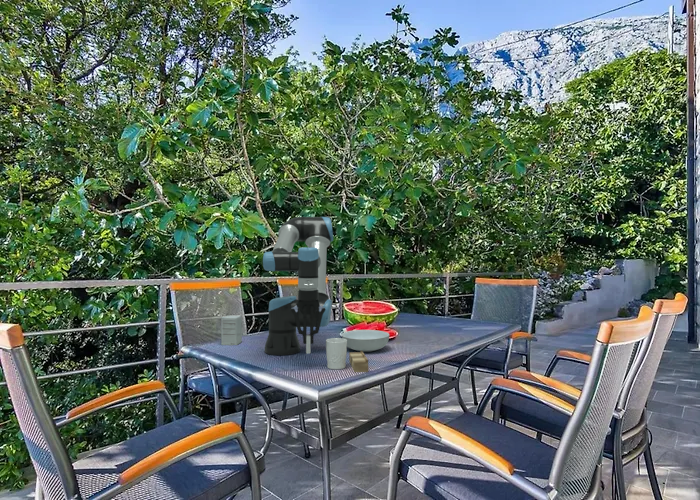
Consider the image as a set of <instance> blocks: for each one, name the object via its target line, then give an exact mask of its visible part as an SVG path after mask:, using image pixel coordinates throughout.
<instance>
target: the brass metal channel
mask: <svg viewBox="0 0 700 500" xmlns="http://www.w3.org/2000/svg"><path fill="white" fill-rule="evenodd" d="M348 353H349V355H348V356H349V357H348V358H349V359H348V361H349V364H350V367H351V368H352V370H353V372H354V373H368V372H369V359H368V357H367V356H366V355H365V352H363V351H357V352H356V351H354V352H353V351H351V352H348Z"/></svg>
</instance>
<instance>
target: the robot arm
mask: <svg viewBox="0 0 700 500" xmlns="http://www.w3.org/2000/svg"><path fill="white" fill-rule="evenodd" d="M332 224H333V222H332V219H331V218H330V217H329V216H297V217H293V218H290V219H289V220H287V221H285V222H284V223H283V224H282V225H281V226H280V228H279V229H278V232H277V233H278V234H277V235H278V237H277V240H276V243H275V245H274V247H273V250H271V251H265V252H264V253H263V257H262V266H263V269H264V271H268V272H298V273H297V274H298V276H297V288H298V291H297V296H296V295H289V296H287V295H286V296H281V297H276V298H273V299H271V300H270V301H269V303H268V335H267V338H266V341H265V344H264V353H265V354H266V355H267V354H268V355H272V356H288V355H289V356H290V355H294V354H295V355H296V354H298V353H300V352H301V344H300V341H299V338H298V335H297V333H298V334H299V335H302V343H303V345H305V348H306V349H305V353H306V354H308V355H309V354H311V344H312V345H313V344H314V335H316V334H317V335H318V334H319V331H320V328H323V327H327V326H329V324H330V320H331V316H332V315H331V314H332V307H333V301H332V299H329V298H330V297H329V294H327V293H326V287H327V286H326V285H327V283H326V282H327V279H326V278H327V248H328V247H330V245H331V242H333V241H334V233H333V232H334V231H333V226H332ZM296 242H304V243H305V245H306V246H307V247H299V248H298V251H293V250H294V249H293V248H294V246H295V243H296ZM307 328H309V333H307Z"/></svg>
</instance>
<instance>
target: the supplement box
mask: <svg viewBox="0 0 700 500" xmlns="http://www.w3.org/2000/svg"><path fill="white" fill-rule="evenodd" d="M242 316H243V315H226V316H223V317H221V319H220V320H221V323H220V324H221V325H220V326H221V330H220V331H221V333H220V335H221V337H220V338H221V340H220V341H221V344H220V345H222V346H233V345H236V346H238V345H239V344H241V343H242V342H243V341H242V339H243V336H242V334H243V332H242V330H243V329H242V328H243V326H242V325H243V324H242V323H243V322H242V320H243V317H242Z"/></svg>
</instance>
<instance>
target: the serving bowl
mask: <svg viewBox="0 0 700 500" xmlns="http://www.w3.org/2000/svg"><path fill="white" fill-rule="evenodd" d="M341 338H343V339H346V340H347V348H348V349H351V350H354V351H357V352H361V351H363V353H368V352H375V351H378V350H381V349H383V348H384V347H385V346H386V345H387V344H388V342H389V339H390V333H389V332H387V331H383V330H378V329H377V330H376V329H354V330H349V331H345V332H342V333H341Z"/></svg>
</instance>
